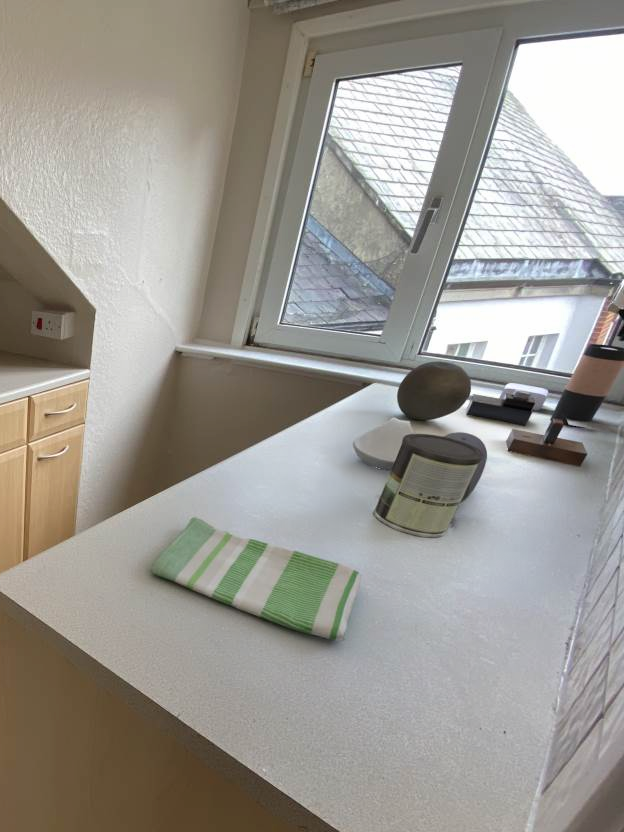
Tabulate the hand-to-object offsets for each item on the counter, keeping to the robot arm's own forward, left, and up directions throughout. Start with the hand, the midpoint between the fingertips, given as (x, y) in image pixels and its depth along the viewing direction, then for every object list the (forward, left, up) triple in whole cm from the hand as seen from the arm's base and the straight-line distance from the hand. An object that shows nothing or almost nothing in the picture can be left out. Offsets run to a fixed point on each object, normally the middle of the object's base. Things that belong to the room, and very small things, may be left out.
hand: (623, 340), depth 126 cm
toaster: (+15, -2, -23) cm, 28 cm away
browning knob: (+7, +24, -20) cm, 32 cm away
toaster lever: (+12, -2, -17) cm, 21 cm away
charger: (+9, -26, -23) cm, 36 cm away
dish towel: (+42, +121, -23) cm, 130 cm away
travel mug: (0, -10, -23) cm, 25 cm away
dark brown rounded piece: (+30, +17, -23) cm, 42 cm away
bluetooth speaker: (+24, +68, -23) cm, 76 cm away
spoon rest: (+34, +54, -23) cm, 68 cm away
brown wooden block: (+7, +24, -23) cm, 34 cm away
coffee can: (+27, +85, -23) cm, 92 cm away
